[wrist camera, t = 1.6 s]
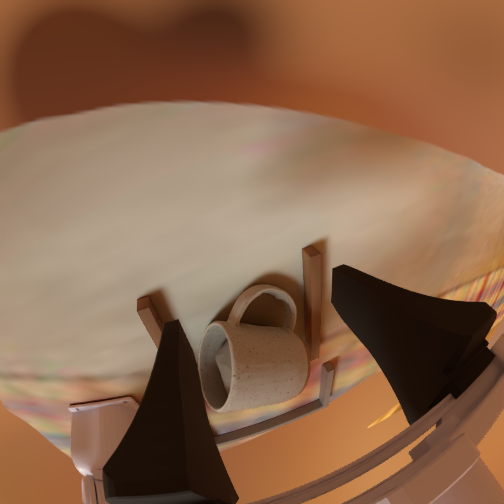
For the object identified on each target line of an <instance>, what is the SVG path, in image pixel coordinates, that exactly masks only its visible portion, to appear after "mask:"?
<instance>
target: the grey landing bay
mask: <svg viewBox="0 0 504 504" xmlns="http://www.w3.org/2000/svg"><path fill="white" fill-rule="evenodd" d="M334 370H335V369H334V368H333V366H332V365H331V363H330V362H327V363H325V364H323V365H322V376H321V386H320V395H319V399H318V400H316V401H314V402H312V403H309V404H307V405H305V406H302V407H300V408H298V409H295V410H293V411H290V412H288V413H285V414H283V415H280V416H278V417H275V418H272V419H270V420H267V421H264V422H261V423H258V424H255V425H252V426H249V427H246V428H243V429H240V430H236V431H233V432H230V433H226V434H223V435H219V436H215V437H214V439H215V442H216V445H217V447H218V446H222V445H225V444H229V443H232V442H236V441H239V440H243V439H246V438H249V437H252V436H255V435H258V434H261V433H264V432H267V431H269V430H272V429H275V428H278V427H280V426H283V425H285V424H288V423H291V422H293V421H295V420H298V419H300V418H303V417H305V416H307V415H310V414H312V413H314V412H316V411H318V410H320V409H323V408H325V407H327V406H328V405H329V399H330V394H331V388H332V382H333V376H334Z"/></svg>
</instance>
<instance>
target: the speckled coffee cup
mask: <svg viewBox="0 0 504 504" xmlns="http://www.w3.org/2000/svg"><path fill="white" fill-rule="evenodd" d="M264 292H265V293H268V294H271V295H273V296H275V297H276V299H282V301H283V303H284V308H285V309H284V311H285V316H284V322H283V326H282V327H273V326H257V325H250V324H243V323H239V322H240V319H241V317H242V316H243V314H244V312H245V310H246V308H247V307H248V305H249V304H250V303H251V302H252V301H253V300H254V299H255V298H256V297H258V296H259V295H260V294H262V293H264ZM296 317H297V313H296V305H295V303H294V301H293V299H292V298H291V296H290V295H289V294H288V293H287V292H286V291H284V290H282V289H280V288H278V287H275V286H272V285H268V284H259V285H255V286H252V287H250V288H249V289H247V290H246V291H244V292H243V293H242V294H241V295H240V296H239V297H238V299H237V300H236V302H235V304H234V306H233V308H232V310H231V312H230V315H229V318H228V320H227V321H214V322H212V323H211V324H209V326H208V327H207V328H206V330H205V332H204V334H203V337H202V339H201V343H200V348H199V356H198V370H199V376H200V381H201V387H202V392H203V395H204V398H205V400H206V402H207V404H208V405H209V407H210V408H212V409H213V410H214V411H216V412H229V411H236V410H242V409H249V408H255V407H261V406H266V405H272V404H278V403H282V402H285V401H288V400H290V399H292V398H294V397H296V396H297V395H299V394H300V393H301V392H302V391H303V389H304V388H305V386H306V384H307V382H308V379H309V376H310V356H309V352H308V349H307V347H306V345H305V343H304V341H303V340H302V339H301V337H300V336H299V335H297V334H296V333H295V332H293V331H294V328H295V324H296Z"/></svg>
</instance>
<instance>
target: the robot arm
mask: <svg viewBox="0 0 504 504" xmlns="http://www.w3.org/2000/svg"><path fill="white" fill-rule="evenodd" d="M331 303H332V304H333V306H334V307H335V309H336V311H337V312H338V314H339V315H340V317H341V318H342V320H343V321H344V322H345V323H346V324H347V326H348V327H349V328H350V329H351V330H352V332H353V333H354V334H355V335H356V336H357V337H358V339H359V340H360V341H361V342H362V343H363V345H364V346H365V347H366V348H367V349H368V351H369V352H370V353H371V354H372V356H373V357H374V359H375V360H376V362H377V363H378V365H379V366H380V368H381V370H382V371H383V373H384V375H385V376H386V378H387V380H388V381H389V383H390V385H391V387H392V389H393V390H394V392H395V394H396V396H397V398H398V400H399V402H400V405H401V407H402V409H403V411H404V414H405V416H406V418H407V421H408V423H409V424H410V426H409V427H408V428H407V429H405V430H404V431H402V432H401V433H399V434H398V435H397V436H395V437H393V438H392V439H390V440H389V441H387V442H386V443H384V444H383V445H381V446H379V447H378V448H376V449H375V450H373V451H371V452H370V453H368V454H366V455H364V456H363V457H361V458H359V459H357V460H356V461H354V462H352V463H350V464H348V465H346V466H344V467H342V468H340V469H338V470H336V471H334V472H332V473H330V474H328V475H326V476H323V477H321V478H319V479H317V480H314V481H312V482H310V483H307V484H305V485H303V486H300V487H297V488H295V489H292V490H289V491H287V492H284V493H281V494H278V495H275V496H272V497H269V498H266V499H262V500H259V501H255V502H252V503H248V504H301V503H304V502H306V501H309V500H311V499H314V498H316V497H318V496H320V495H323V494H325V493H327V492H330V491H332V490H334V489H336V488H338V487H340V486H342V485H344V484H346V483H348V482H350V481H352V480H354V479H355V478H357V477H359V476H361V475H363V474H364V473H366V472H368V471H370V470H371V469H373V468H375V467H376V466H378V465H380V464H381V463H383V462H384V461H386V460H388V459H389V458H391V457H392V456H394V455H395V454H397V453H398V452H399V451H401V450H402V449H404V448H405V447H407V446H408V445H409V444H411V443H412V442H414V441H415V440H416V439H417V438H419V437H420V436H421V435H423V434H424V433H425V432H426V431H428V430H429V429H430V428H431V427H432V426H434V425H435V424H436V423H437V424H436V429H435V430H434V431H433V432H431V434H429V435H428V436H427V437H425V438H424V440H422V441H421V442H420V443H419V444H418V445H417V446H416V447H414V448H413V449H412V450H411V451H409V455H410V456H411V458H412V459H413V461H412V462H411V463H409V464H408V465H406V466H405V467H404V468H402V469H401V470H399V471H398V472H396V473H395V474H393V475H392V476H390V477H389V478H387V479H385V480H384V481H382V482H381V483H379V484H377V485H376V486H374V487H372V488H370V489H369V490H367V491H365V492H363V493H362V494H360V495H358V496H356V497H354V498H353V499H350V500H348V501H346V502H344V503H342V504H504V490H503V488H502V487H501V485H500V484H499V483H498V481H497V480H496V478H495V477H494V476H493V474H492V473H491V472H490V470H489V469H488V467H487V466H486V465H485V463H484V462H483V461H482V459H481V458H480V451H479V450H478V449H477V445H478V444H479V443H480V442H481V440H482V439H483V438H484V436H485V435H486V434H487V432H488V431H489V430H490V428H491V427H492V425H493V424H494V423H495V421H496V420H497V418H498V417H499V415H500V414H501V412H502V411H503V409H504V333H503V334H502V335H501V337H500V338H499V339H498V340H497V341H496V343H495V344H494V346H492V348H491V349H490V350H489V349H488V348H487V346H488V344H489V343H488V341H487V340H485V338H486V336H487V334H488V332H489V331H490V329H491V327H492V325H493V323H494V321H495V319H496V316H497V312H496V311H495V310H494V309H493V308H492V307H490V306H489V305H488V304H487V303H486V302H464V301H454V300H447V299H441V298H436V297H431V296H427V295H423V294H420V293H416V292H412V291H409V290H406V289H403V288H401V287H398V286H395V285H393V284H390V283H388V282H385V281H383V280H380V279H378V278H375V277H373V276H371V275H369V274H366V273H364V272H362V271H359V270H357V269H355V268H352V267H350V266H347V265H344V264H343V265H340V266H338V267H335V268H333V270H332V296H331ZM68 409H69V410H70V411H71V412H72V421H71V456H72V459H73V462H74V464H75V466H76V468H77V469H78V471H79V472H80V473H81V474H82V475H84V477H83V478H82V497H83V504H236V503H237V501H238V499H239V497H238V495H237V493H236V491H235V489H234V487H233V484H232V482H231V480H230V478H229V475H228V473H227V471H226V468H225V466H224V463H223V461H222V458H221V456H220V453H219V450H218V448H217V445H216V442H215V439H214V437H213V434H212V431H211V428H210V425H209V421H208V417H207V413H206V408H205V403H204V398H203V392H202V387H201V381H200V376H199V370H198V367H197V363H196V360H195V356H194V353H193V350H192V348H191V346H190V343H189V341H188V339H187V337H186V335H185V333H184V331H183V328H182V326H181V324H180V322H179V320H178V319H177V320H174V321H170V322H167V323H164V325H163V328H162V334H161V339H160V343H159V348H158V352H157V355H156V359H155V363H154V366H153V370H152V373H151V376H150V379H149V382H148V385H147V388H146V391H145V393H144V396H143V398H142V401H141V403H140V405H139V404H138V403H137V402H136V401H135V400H134V399H133V398H132V397H124V398H119V399H113V400H107V401H101V402H94V403H87V404H80V405H72V406H69V407H68Z"/></svg>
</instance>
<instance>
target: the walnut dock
mask: <svg viewBox="0 0 504 504" xmlns="http://www.w3.org/2000/svg"><path fill="white" fill-rule="evenodd" d="M302 257H303V277H304V303H305V345H306V347H307V349H308V352H309V356H310V360H311V361H312V360H314V359H316V358H319V348H320V325H321V253H320V252H319V251H318V250H317V249H316V248H314V247H313V246H310V247H307V248H303V249H302ZM137 312H138V314H139V316H140V318H141V320H142V322H143V324H144V325H145V327H146V329H147V331H148V333H149V334H150V336H151V338H152V340H153V341H154V343H155V345H156V347H157V348H159V343H160V339H161V334H162V328H163V325H162V323H161V321H160V319H159V317H158V314H157V312H156V310H155V308H154V306H153V304H152V302H151V300H150V298H149V296H147V297H143V298H140V299H137Z"/></svg>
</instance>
